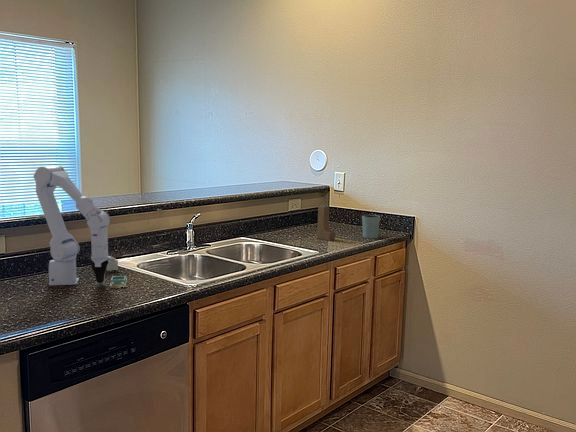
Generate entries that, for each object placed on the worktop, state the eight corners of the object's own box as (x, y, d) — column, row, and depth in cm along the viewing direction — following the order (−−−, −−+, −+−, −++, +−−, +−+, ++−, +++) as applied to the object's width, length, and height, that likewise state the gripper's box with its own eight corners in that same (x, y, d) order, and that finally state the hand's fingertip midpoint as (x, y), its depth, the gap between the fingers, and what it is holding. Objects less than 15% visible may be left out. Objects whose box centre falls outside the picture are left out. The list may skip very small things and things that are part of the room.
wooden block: (334, 239, 302) (336, 207, 299) (329, 241, 298) (330, 207, 296) (322, 237, 308) (323, 205, 305) (316, 238, 305) (318, 205, 302)
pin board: (109, 288, 204) (109, 281, 204) (112, 281, 213) (111, 274, 213) (125, 287, 206) (125, 281, 205) (127, 280, 215) (126, 274, 214)
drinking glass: (373, 239, 306) (374, 217, 304) (357, 236, 312) (358, 215, 310) (382, 236, 314) (383, 215, 312) (366, 234, 320) (367, 213, 318)
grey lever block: (116, 269, 231) (115, 250, 229) (118, 270, 229) (117, 251, 228) (99, 272, 226) (99, 252, 225) (101, 272, 225) (101, 253, 223)
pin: (96, 287, 205) (95, 269, 204) (97, 285, 208) (96, 266, 207) (104, 287, 206) (104, 268, 205) (105, 284, 209) (104, 266, 207)
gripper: (109, 249, 198) (110, 286, 200) (112, 240, 212) (113, 275, 214) (88, 249, 197) (89, 287, 199) (93, 241, 211) (94, 276, 213)
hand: (100, 281), depth 206 cm, fingers closed on pin, 3 cm apart
